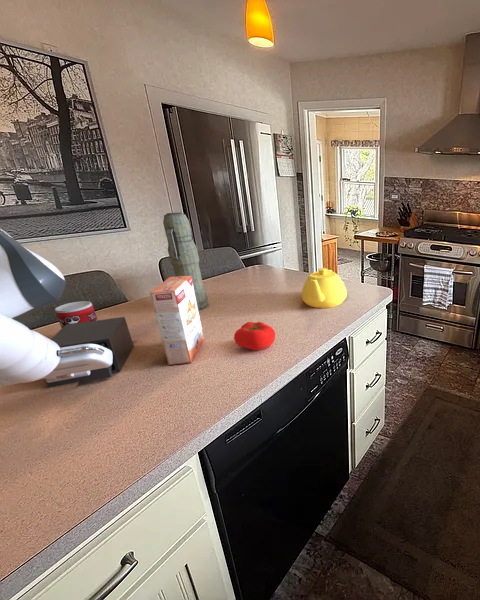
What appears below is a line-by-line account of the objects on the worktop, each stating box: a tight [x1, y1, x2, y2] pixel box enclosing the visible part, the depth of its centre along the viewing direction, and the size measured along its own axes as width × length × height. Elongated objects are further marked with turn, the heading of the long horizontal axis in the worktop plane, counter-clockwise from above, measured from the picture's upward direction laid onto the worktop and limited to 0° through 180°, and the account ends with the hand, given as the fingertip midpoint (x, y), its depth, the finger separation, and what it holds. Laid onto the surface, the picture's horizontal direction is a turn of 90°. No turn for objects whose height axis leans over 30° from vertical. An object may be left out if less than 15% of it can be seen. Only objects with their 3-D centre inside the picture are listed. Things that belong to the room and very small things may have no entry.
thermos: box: [162, 212, 209, 311], centre depth 118 cm, size 9×12×35 cm
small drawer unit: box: [49, 316, 135, 374], centre depth 85 cm, size 15×13×10 cm
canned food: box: [54, 300, 98, 329], centre depth 98 cm, size 8×8×11 cm
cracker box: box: [149, 276, 205, 366], centre depth 90 cm, size 14×6×21 cm, turn 17°
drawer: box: [44, 342, 114, 389], centre depth 80 cm, size 18×11×8 cm, turn 26°
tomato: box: [233, 321, 276, 351], centre depth 96 cm, size 10×11×6 cm
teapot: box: [301, 267, 348, 309], centre depth 129 cm, size 25×18×14 cm
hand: (65, 374), depth 72 cm, fingers closed, pressing on drawer
